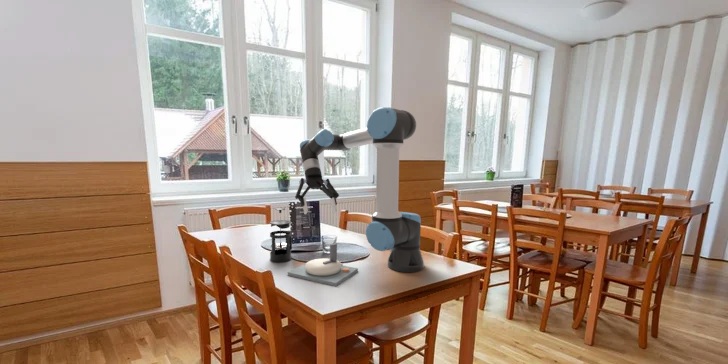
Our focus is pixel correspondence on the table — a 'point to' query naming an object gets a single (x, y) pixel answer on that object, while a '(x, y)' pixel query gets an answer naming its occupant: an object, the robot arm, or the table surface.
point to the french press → (282, 250)
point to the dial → (325, 264)
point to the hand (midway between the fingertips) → (320, 212)
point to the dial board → (328, 279)
